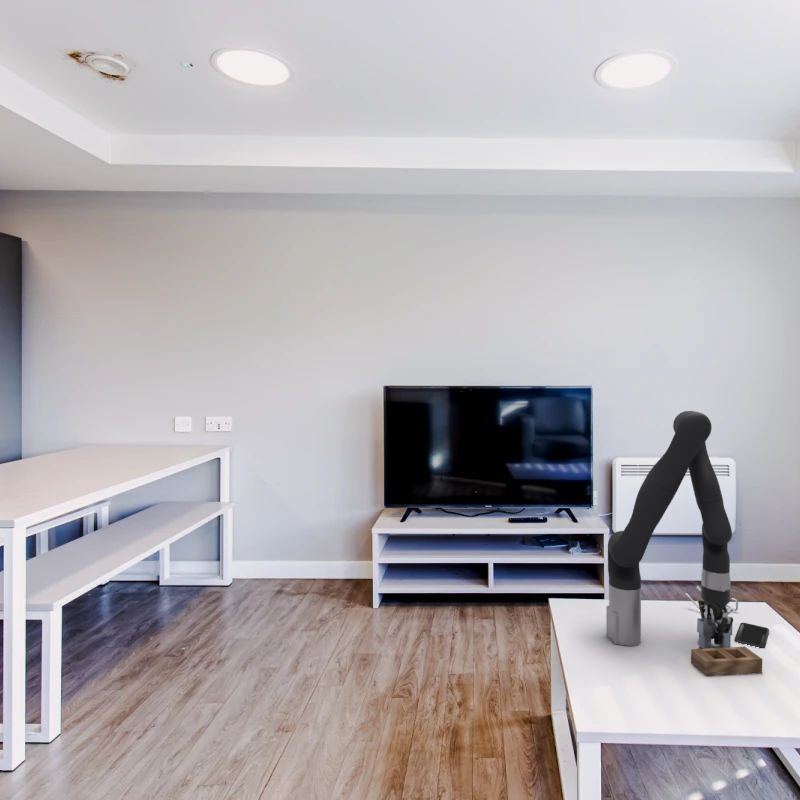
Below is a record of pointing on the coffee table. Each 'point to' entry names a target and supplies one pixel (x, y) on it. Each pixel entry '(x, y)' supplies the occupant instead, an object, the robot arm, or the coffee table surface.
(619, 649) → the coffee table surface
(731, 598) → the silver thin wire frame
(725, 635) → the brushed steel block
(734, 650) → the two-pocket wooden block
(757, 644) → the phone
